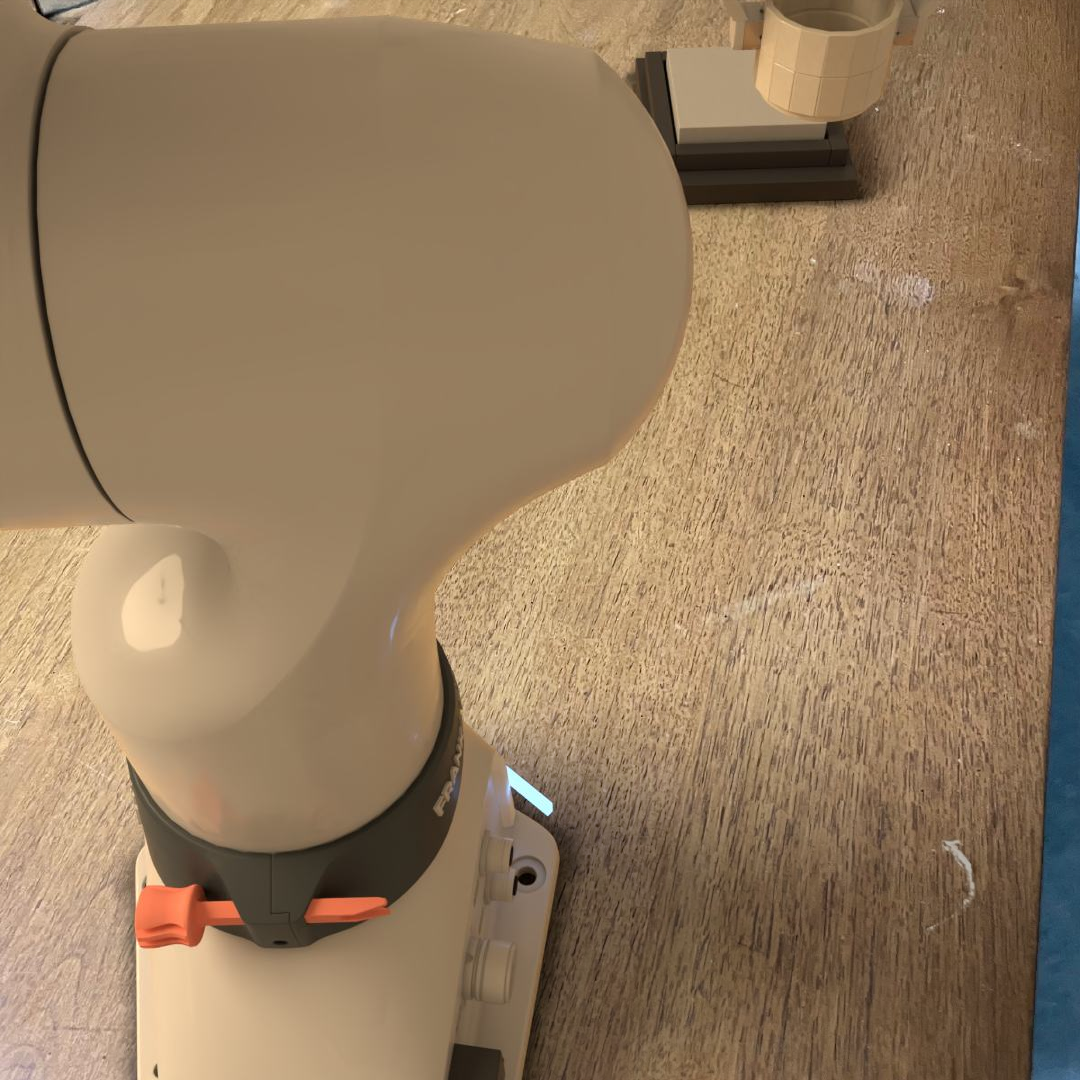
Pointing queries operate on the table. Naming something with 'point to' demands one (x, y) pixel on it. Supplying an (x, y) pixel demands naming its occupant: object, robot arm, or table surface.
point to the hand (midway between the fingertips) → (824, 41)
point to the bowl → (825, 56)
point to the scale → (747, 156)
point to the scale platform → (726, 100)
